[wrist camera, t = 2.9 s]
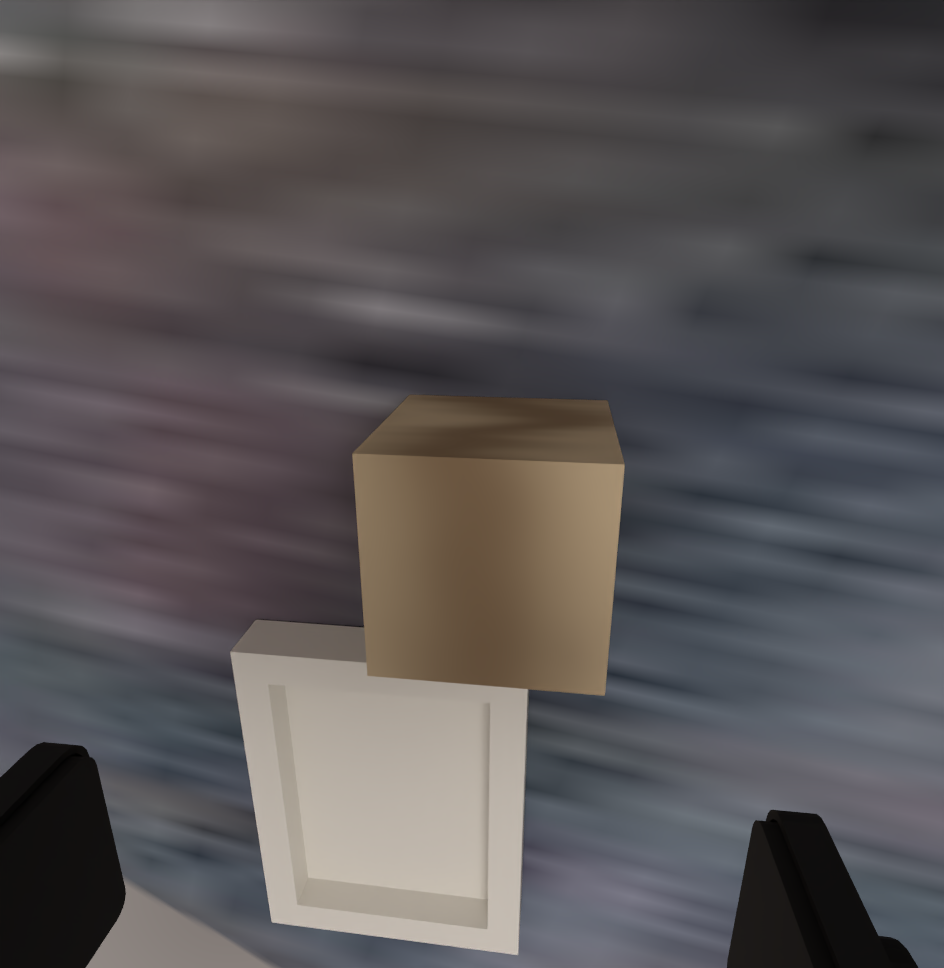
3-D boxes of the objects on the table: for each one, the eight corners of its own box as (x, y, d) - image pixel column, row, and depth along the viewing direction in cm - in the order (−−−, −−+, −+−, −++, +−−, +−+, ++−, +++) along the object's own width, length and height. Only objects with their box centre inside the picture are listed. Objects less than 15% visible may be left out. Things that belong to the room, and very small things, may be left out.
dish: (530, 639, 23) (528, 675, 21) (521, 906, 27) (518, 955, 25) (256, 619, 24) (229, 651, 22) (290, 877, 28) (271, 922, 27)
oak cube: (607, 399, 20) (624, 464, 14) (594, 578, 22) (605, 695, 16) (410, 393, 20) (352, 453, 15) (416, 567, 22) (367, 675, 17)
